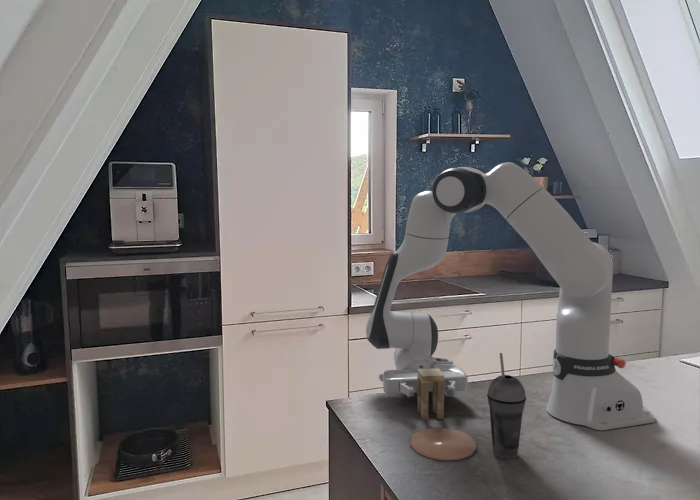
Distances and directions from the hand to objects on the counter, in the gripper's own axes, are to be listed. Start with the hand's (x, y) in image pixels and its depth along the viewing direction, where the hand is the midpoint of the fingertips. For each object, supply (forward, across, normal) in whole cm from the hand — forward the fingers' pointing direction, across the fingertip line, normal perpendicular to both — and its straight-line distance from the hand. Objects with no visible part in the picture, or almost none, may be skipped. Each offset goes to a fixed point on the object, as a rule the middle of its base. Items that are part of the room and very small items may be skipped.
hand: (431, 392), depth 124 cm
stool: (-1, 0, +6) cm, 6 cm away
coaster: (+14, -1, +6) cm, 15 cm away
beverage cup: (+19, +10, +6) cm, 22 cm away
